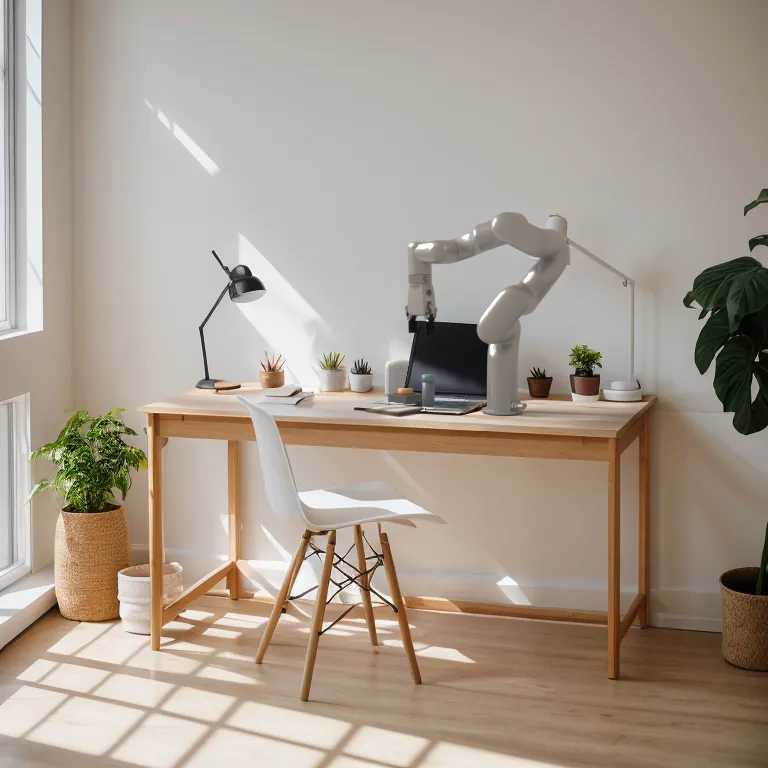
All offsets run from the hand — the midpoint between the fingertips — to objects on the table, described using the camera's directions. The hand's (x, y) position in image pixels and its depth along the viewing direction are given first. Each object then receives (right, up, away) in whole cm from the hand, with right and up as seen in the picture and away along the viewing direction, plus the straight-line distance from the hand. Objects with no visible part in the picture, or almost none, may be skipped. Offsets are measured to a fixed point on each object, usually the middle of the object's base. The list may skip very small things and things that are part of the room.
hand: (421, 333), depth 321 cm
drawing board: (-8, -25, -7) cm, 27 cm away
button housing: (-5, -23, +7) cm, 25 cm away
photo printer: (-7, -20, +31) cm, 38 cm away
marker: (+2, -24, -2) cm, 24 cm away
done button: (-5, -20, +7) cm, 22 cm away
